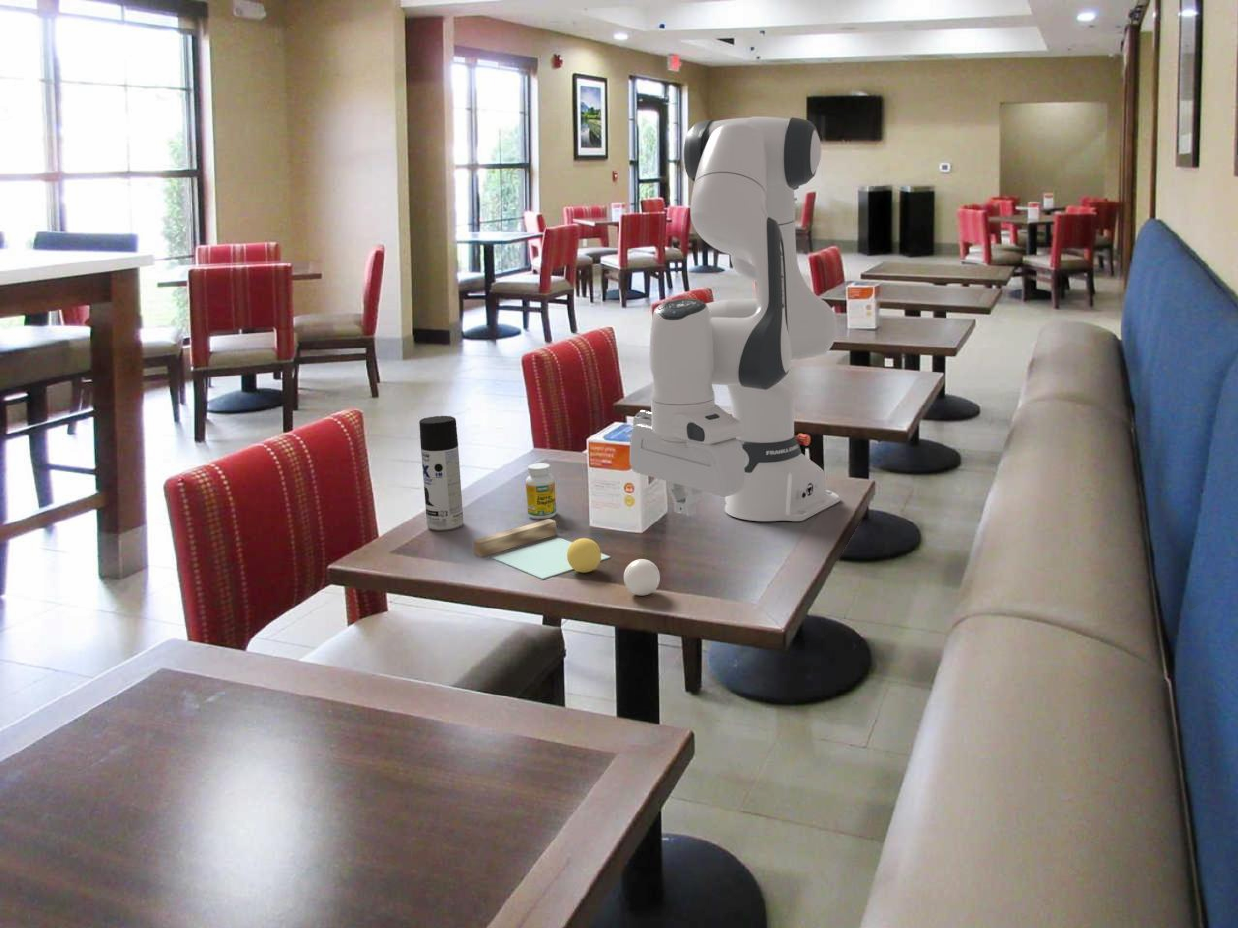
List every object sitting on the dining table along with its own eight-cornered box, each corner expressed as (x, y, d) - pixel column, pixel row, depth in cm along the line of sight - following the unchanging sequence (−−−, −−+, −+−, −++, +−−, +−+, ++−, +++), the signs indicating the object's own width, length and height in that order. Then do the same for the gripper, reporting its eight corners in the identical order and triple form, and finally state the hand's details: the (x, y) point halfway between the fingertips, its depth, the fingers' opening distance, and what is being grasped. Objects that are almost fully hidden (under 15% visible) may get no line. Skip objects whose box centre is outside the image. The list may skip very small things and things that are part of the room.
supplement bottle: (547, 509, 220) (544, 460, 218) (562, 515, 216) (559, 466, 213) (522, 514, 217) (519, 465, 215) (536, 521, 213) (533, 471, 211)
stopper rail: (549, 532, 207) (549, 518, 206) (556, 534, 205) (555, 521, 205) (474, 554, 197) (473, 540, 196) (480, 557, 196) (479, 543, 195)
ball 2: (643, 584, 180) (642, 551, 179) (667, 594, 176) (666, 559, 175) (616, 594, 177) (615, 560, 176) (640, 604, 173) (639, 569, 172)
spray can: (423, 523, 215) (414, 417, 209) (458, 517, 217) (450, 413, 212) (432, 533, 209) (423, 425, 203) (468, 527, 211) (460, 420, 206)
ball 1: (587, 563, 191) (585, 531, 189) (608, 571, 187) (607, 538, 185) (560, 571, 188) (559, 539, 186) (582, 580, 183) (580, 547, 182)
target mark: (559, 538, 203) (558, 537, 203) (610, 557, 193) (610, 556, 193) (492, 558, 195) (492, 557, 195) (542, 579, 184) (542, 578, 184)
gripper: (617, 411, 167) (621, 503, 171) (718, 434, 152) (719, 534, 156) (650, 404, 171) (653, 494, 175) (751, 425, 156) (752, 523, 160)
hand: (685, 513), depth 165 cm, fingers closed
